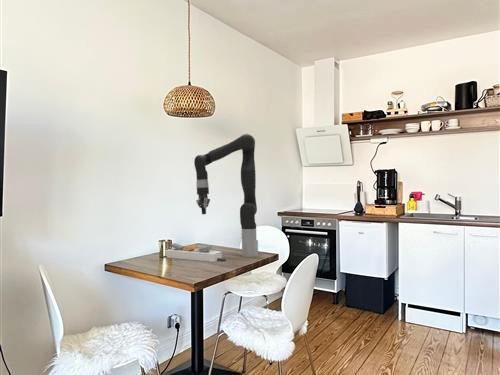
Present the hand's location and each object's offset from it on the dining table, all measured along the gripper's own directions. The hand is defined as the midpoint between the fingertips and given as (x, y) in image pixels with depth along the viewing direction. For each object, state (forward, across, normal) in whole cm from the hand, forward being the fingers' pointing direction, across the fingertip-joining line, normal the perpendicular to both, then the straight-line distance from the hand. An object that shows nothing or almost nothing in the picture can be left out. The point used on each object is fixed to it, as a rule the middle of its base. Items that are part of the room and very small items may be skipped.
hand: (204, 214), depth 229 cm
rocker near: (+21, -10, -6) cm, 24 cm away
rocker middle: (+20, -10, +5) cm, 23 cm away
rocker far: (+20, -10, +15) cm, 27 cm away
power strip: (+26, -10, +2) cm, 28 cm away
